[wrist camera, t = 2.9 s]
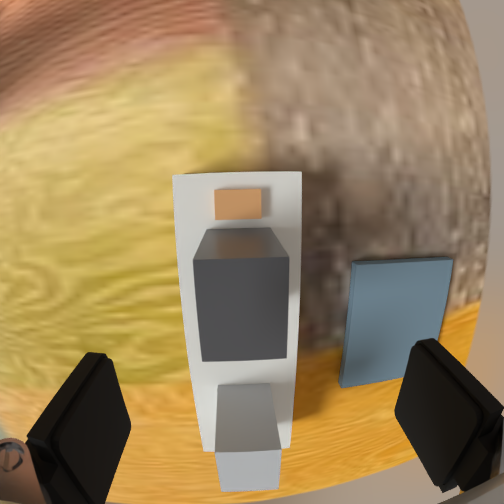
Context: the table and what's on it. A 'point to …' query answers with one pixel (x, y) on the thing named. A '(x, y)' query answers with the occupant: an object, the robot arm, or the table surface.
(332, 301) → the table surface
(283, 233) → the power strip
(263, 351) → the block
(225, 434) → the block
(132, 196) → the table surface
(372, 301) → the mat
